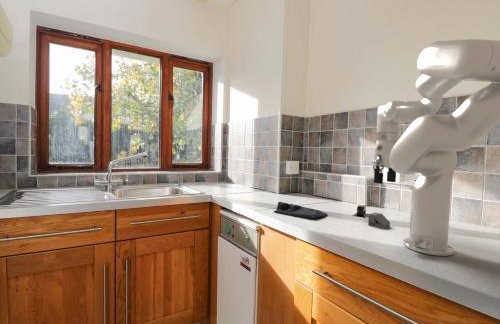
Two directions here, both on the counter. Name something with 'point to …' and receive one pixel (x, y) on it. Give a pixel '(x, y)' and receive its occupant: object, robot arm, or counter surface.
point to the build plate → (361, 211)
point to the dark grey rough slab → (298, 211)
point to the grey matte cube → (378, 221)
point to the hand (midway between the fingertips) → (384, 182)
